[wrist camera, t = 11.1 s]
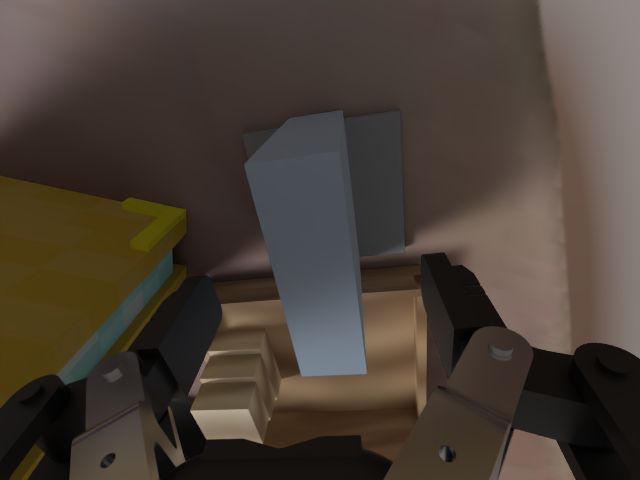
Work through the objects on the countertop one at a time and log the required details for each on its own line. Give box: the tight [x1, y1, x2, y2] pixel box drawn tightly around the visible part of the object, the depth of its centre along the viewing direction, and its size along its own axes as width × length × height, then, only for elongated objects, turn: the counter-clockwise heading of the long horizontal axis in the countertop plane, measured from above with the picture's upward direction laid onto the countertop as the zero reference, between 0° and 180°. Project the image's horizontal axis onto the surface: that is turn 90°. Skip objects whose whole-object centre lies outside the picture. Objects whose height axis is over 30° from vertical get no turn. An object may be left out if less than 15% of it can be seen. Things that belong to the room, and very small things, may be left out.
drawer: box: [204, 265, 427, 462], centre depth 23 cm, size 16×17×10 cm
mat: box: [242, 110, 405, 257], centre depth 20 cm, size 9×9×1 cm
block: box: [244, 110, 367, 376], centre depth 16 cm, size 10×3×9 cm, turn 9°
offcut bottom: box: [208, 329, 281, 400], centre depth 26 cm, size 6×4×2 cm, turn 9°
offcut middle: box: [200, 354, 276, 420], centre depth 24 cm, size 5×4×2 cm
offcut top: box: [190, 382, 269, 444], centre depth 22 cm, size 4×4×2 cm
